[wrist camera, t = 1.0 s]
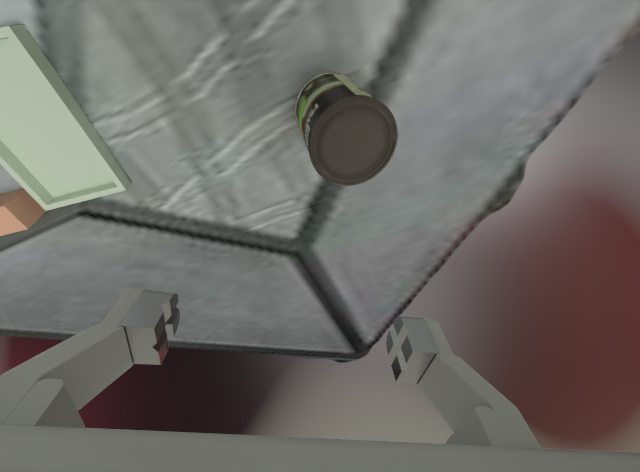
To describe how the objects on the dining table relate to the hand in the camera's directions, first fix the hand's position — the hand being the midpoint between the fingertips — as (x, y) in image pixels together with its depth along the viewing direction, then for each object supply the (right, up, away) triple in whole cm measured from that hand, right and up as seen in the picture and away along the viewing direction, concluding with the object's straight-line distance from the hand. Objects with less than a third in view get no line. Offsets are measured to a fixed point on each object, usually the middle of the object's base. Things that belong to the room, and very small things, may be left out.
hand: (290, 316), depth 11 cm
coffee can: (+2, +22, +33) cm, 40 cm away
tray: (-36, +17, +27) cm, 48 cm away
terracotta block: (-44, +8, +33) cm, 55 cm away
